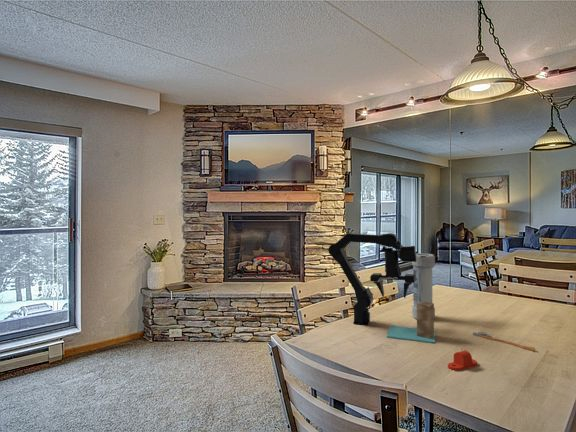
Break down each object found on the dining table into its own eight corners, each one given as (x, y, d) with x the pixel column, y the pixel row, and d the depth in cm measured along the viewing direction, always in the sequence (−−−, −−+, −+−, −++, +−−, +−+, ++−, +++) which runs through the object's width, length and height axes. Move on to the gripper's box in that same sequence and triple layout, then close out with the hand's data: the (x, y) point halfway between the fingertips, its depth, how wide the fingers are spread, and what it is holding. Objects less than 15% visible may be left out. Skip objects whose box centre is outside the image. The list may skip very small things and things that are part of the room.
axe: (541, 348, 132) (541, 343, 132) (534, 353, 128) (534, 348, 128) (479, 332, 150) (479, 328, 150) (471, 336, 146) (471, 332, 146)
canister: (411, 319, 167) (411, 255, 166) (412, 313, 176) (412, 253, 175) (434, 321, 163) (434, 256, 162) (434, 315, 172) (434, 253, 172)
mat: (386, 337, 144) (386, 335, 144) (390, 326, 157) (390, 325, 157) (434, 343, 137) (434, 341, 137) (434, 331, 150) (434, 330, 150)
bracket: (454, 372, 113) (454, 357, 113) (445, 367, 117) (445, 352, 117) (480, 365, 118) (480, 350, 118) (470, 361, 122) (470, 346, 122)
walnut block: (416, 335, 144) (416, 303, 143) (421, 332, 147) (421, 301, 147) (429, 338, 140) (429, 305, 140) (433, 335, 144) (433, 303, 144)
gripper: (416, 259, 159) (419, 294, 159) (375, 259, 168) (377, 292, 168) (412, 263, 150) (415, 300, 150) (369, 262, 158) (371, 297, 158)
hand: (393, 297), depth 157 cm, fingers open, 9 cm apart
